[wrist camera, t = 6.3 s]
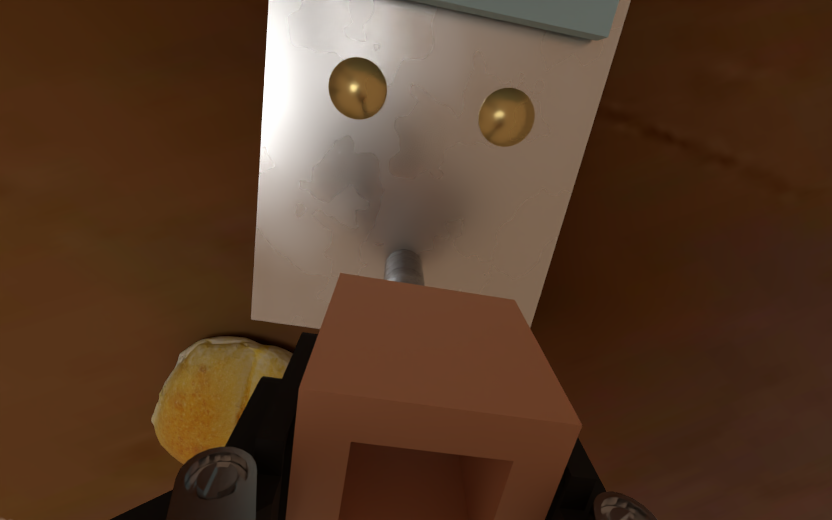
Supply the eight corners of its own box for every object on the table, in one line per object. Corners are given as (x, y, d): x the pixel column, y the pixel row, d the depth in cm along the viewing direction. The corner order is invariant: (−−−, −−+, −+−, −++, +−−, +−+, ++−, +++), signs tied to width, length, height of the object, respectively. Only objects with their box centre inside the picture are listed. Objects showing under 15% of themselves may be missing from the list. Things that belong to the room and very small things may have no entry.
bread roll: (306, 469, 27) (290, 529, 23) (160, 424, 25) (117, 480, 21) (355, 364, 24) (346, 413, 20) (196, 307, 23) (155, 349, 19)
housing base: (292, -248, 15) (181, -613, 7) (663, -150, 16) (896, -371, 9) (258, 308, 22) (184, 416, 15) (515, 344, 24) (571, 461, 16)
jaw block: (340, 272, 12) (298, 388, 7) (514, 299, 12) (582, 425, 8) (322, 416, 14) (279, 584, 9) (475, 435, 14) (510, 605, 9)
